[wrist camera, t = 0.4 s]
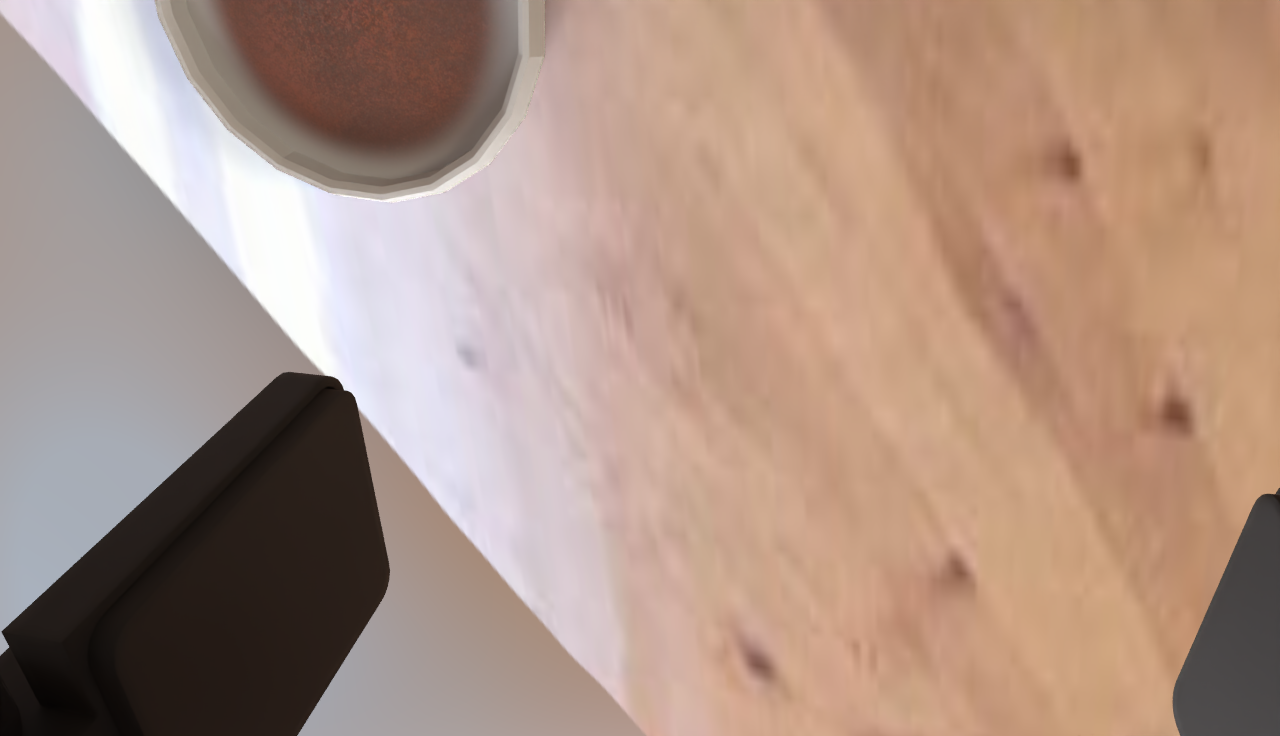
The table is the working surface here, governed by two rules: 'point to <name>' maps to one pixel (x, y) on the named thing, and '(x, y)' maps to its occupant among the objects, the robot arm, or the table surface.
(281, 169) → the frying pan
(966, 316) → the table surface
